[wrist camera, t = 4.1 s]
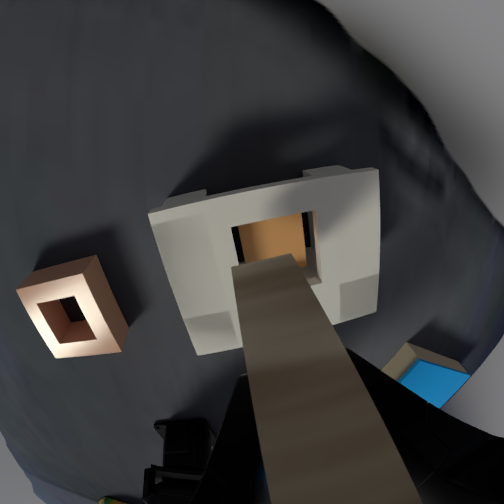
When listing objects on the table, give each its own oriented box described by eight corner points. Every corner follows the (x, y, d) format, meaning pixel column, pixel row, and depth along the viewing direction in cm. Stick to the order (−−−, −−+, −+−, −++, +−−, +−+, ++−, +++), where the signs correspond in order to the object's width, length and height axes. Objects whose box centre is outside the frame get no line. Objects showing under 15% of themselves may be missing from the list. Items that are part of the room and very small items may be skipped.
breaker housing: (344, 272, 23) (376, 311, 18) (198, 306, 23) (197, 355, 18) (337, 156, 19) (378, 169, 14) (164, 189, 19) (147, 214, 14)
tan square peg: (297, 301, 14) (407, 560, 3) (243, 314, 13) (302, 594, 3) (291, 253, 12) (445, 555, 2) (230, 266, 12) (295, 609, 2)
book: (288, 473, 33) (420, 362, 25) (283, 450, 37) (402, 337, 29) (365, 469, 38) (473, 376, 30) (358, 451, 42) (459, 358, 34)
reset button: (300, 255, 19) (306, 266, 18) (246, 267, 19) (248, 278, 18) (293, 202, 18) (300, 209, 16) (235, 214, 17) (237, 222, 16)
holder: (129, 327, 23) (121, 351, 20) (66, 336, 22) (55, 358, 20) (96, 254, 20) (82, 273, 17) (32, 271, 19) (15, 289, 17)
